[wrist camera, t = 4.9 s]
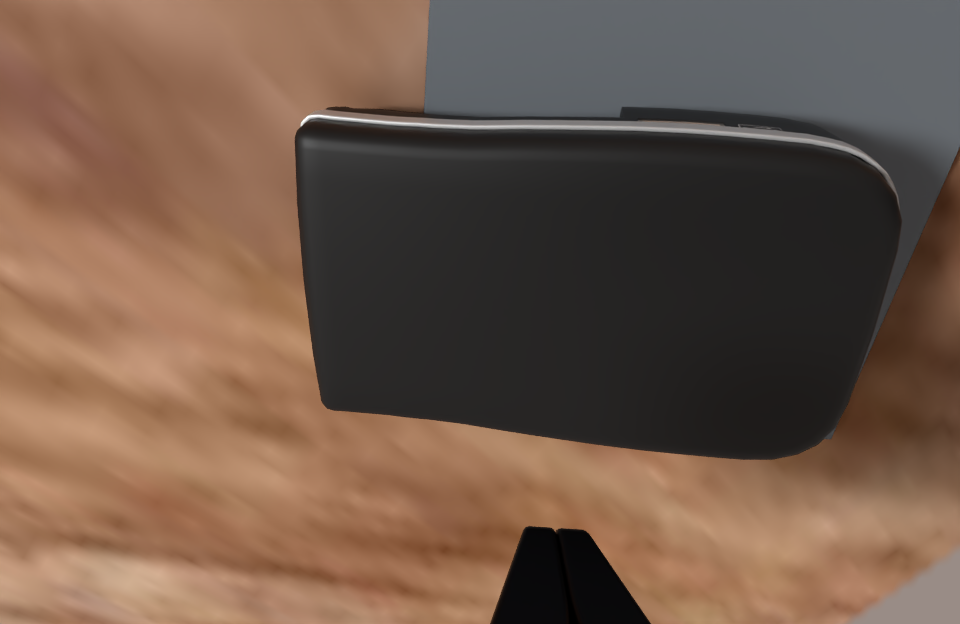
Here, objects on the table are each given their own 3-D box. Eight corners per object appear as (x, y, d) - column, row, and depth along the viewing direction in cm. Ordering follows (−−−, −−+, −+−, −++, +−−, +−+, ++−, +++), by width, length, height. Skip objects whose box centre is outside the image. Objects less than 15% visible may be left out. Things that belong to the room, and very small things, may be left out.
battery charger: (360, 338, 20) (794, 381, 18) (310, 422, 16) (835, 482, 15) (342, 75, 16) (870, 103, 15) (276, 113, 13) (945, 153, 12)
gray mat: (1128, -273, 13) (1145, -277, 12) (825, 429, 21) (830, 438, 20) (449, -355, 12) (448, -363, 12) (409, 400, 20) (408, 408, 20)
